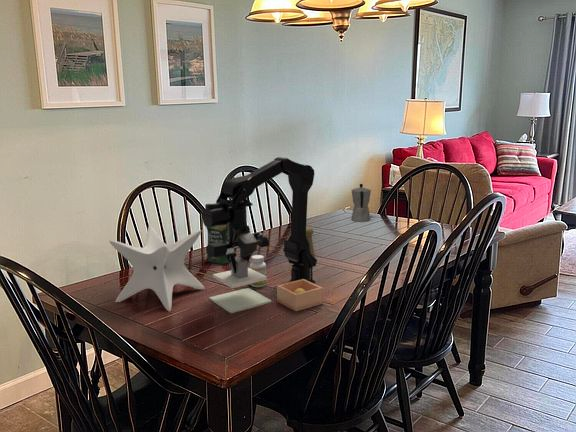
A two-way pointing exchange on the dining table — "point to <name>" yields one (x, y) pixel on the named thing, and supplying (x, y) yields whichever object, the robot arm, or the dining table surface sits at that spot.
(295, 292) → the ball
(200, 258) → the dining table surface
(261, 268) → the supplement bottle
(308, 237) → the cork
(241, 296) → the mat
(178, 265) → the white spiked star
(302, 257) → the robot arm
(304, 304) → the open wooden box
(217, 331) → the dining table surface
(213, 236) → the coffee jar
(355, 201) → the coffeepot
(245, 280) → the lid
